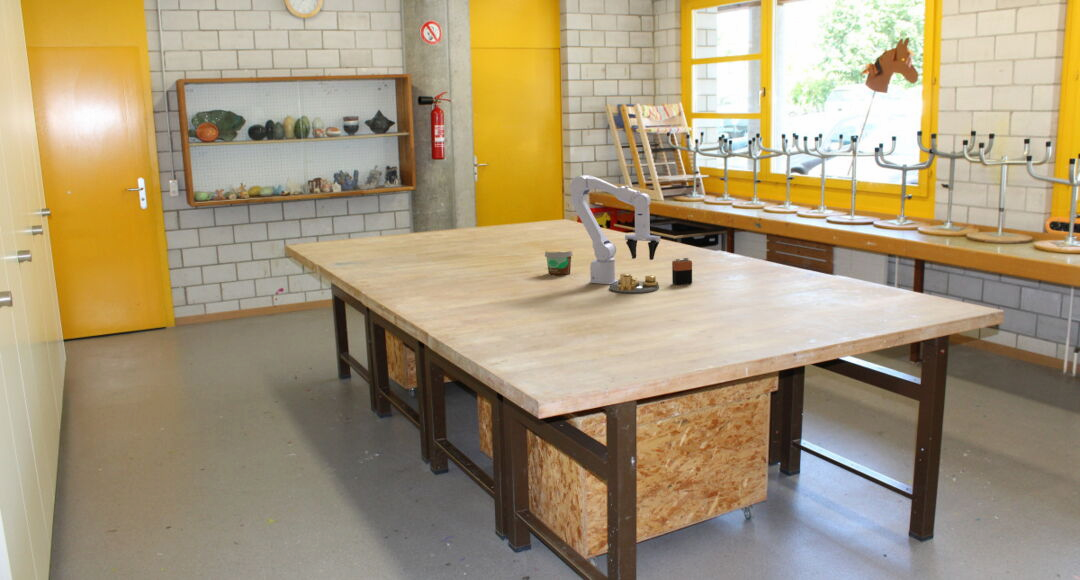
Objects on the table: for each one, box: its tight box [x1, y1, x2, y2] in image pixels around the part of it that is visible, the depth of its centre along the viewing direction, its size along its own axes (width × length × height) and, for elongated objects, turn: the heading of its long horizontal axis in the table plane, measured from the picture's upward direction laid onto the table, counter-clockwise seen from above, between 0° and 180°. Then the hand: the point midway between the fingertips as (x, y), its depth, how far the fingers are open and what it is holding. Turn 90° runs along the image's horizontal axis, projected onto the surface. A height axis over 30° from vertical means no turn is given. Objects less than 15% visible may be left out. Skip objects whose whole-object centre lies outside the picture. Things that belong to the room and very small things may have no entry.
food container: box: [544, 250, 573, 277], centre depth 377 cm, size 12×6×10 cm, turn 68°
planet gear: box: [618, 275, 635, 291], centre depth 338 cm, size 7×7×5 cm
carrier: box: [609, 273, 660, 295], centre depth 344 cm, size 19×19×4 cm
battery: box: [671, 257, 693, 286], centre depth 349 cm, size 4×7×10 cm, turn 105°
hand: (642, 259), depth 350 cm, fingers open, 7 cm apart
